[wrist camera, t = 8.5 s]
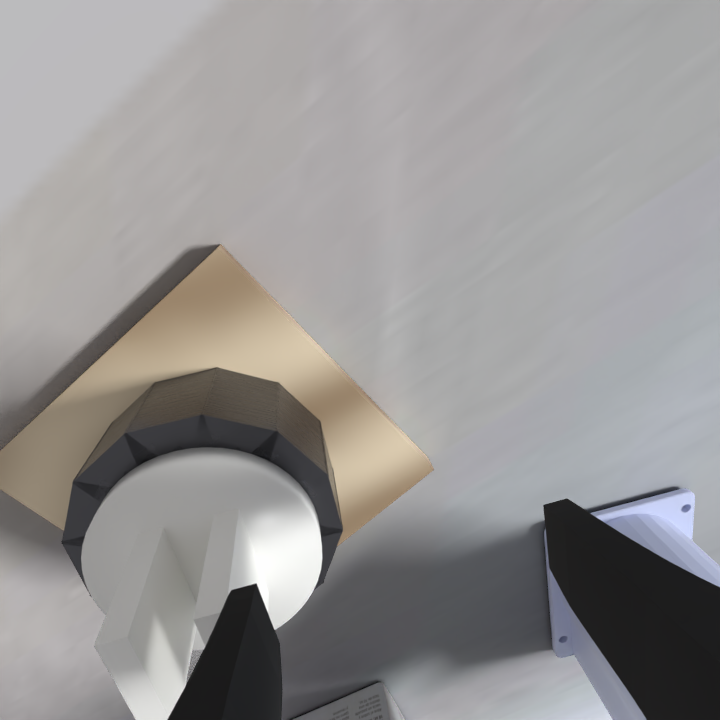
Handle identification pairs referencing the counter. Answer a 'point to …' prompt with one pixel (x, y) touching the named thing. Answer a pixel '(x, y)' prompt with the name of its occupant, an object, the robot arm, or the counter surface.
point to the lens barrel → (210, 444)
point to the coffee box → (359, 706)
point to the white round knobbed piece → (192, 562)
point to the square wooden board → (203, 352)
